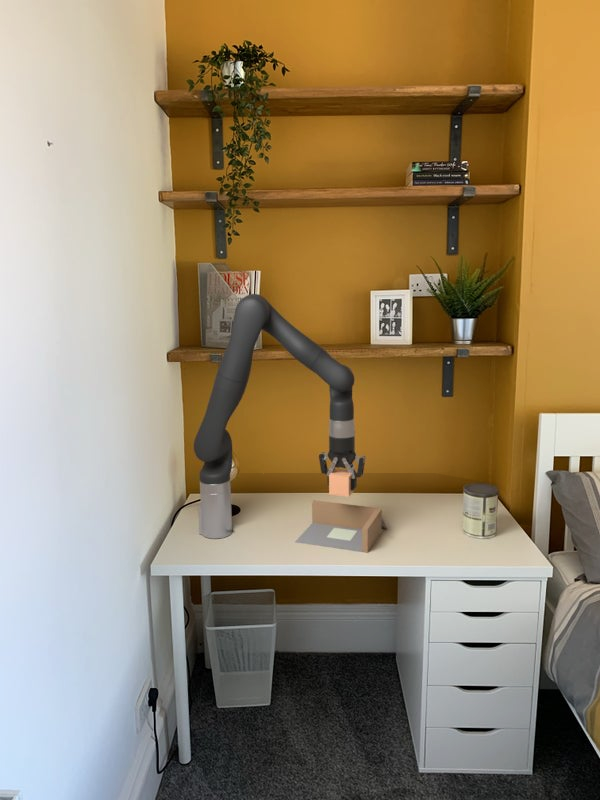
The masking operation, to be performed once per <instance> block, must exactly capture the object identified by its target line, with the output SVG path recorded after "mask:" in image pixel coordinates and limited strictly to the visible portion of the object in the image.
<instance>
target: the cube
mask: <svg viewBox="0 0 600 800" xmlns="http://www.w3.org/2000/svg"><path fill="white" fill-rule="evenodd" d="M355 489H356V488H355ZM355 489H354V490H353V491H351V475H350V474H349V472H348V471H347V469H339V468H335V470H334V471H333V472H332V473H331V474H330V475H329V486H328V491H329V492H328V494H329V496H339V497H347V498H349V497H350V496H351V495H352V494H353V493H354V491H355Z"/></svg>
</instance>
